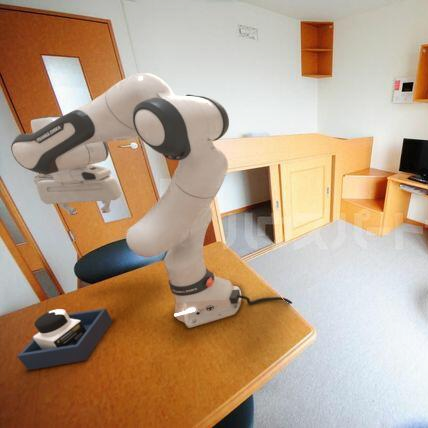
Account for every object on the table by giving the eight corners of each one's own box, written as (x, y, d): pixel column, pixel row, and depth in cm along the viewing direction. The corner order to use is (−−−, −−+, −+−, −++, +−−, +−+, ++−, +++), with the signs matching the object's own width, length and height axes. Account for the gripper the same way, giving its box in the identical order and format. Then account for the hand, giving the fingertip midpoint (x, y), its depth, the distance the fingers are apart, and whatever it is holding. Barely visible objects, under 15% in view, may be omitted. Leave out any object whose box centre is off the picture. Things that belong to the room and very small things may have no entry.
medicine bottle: (64, 358, 67) (44, 328, 62) (44, 353, 68) (22, 324, 63) (90, 335, 74) (73, 307, 69) (71, 332, 75) (53, 304, 70)
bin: (112, 321, 80) (105, 308, 77) (86, 360, 68) (77, 346, 65) (64, 328, 77) (55, 315, 75) (28, 370, 65) (16, 356, 63)
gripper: (22, 177, 68) (45, 220, 74) (104, 174, 72) (120, 214, 78) (39, 171, 74) (60, 211, 80) (115, 168, 78) (129, 207, 84)
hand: (90, 213), depth 79 cm, fingers open, 8 cm apart
